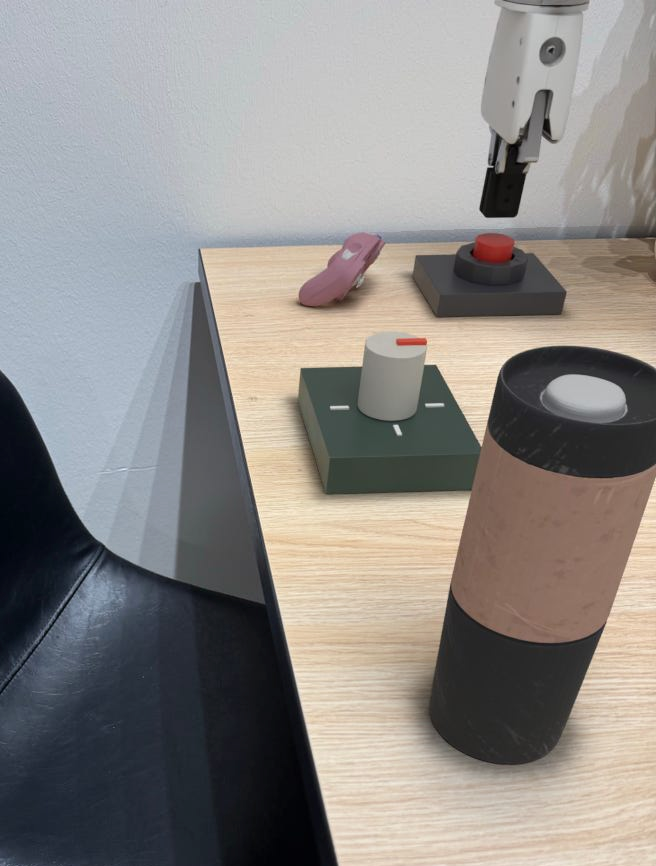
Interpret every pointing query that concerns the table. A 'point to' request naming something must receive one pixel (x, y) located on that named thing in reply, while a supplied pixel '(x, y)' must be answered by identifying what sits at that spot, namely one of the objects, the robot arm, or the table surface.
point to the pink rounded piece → (343, 270)
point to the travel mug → (543, 546)
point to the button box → (487, 285)
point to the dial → (391, 375)
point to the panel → (386, 437)
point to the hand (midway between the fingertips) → (497, 214)
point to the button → (493, 247)
